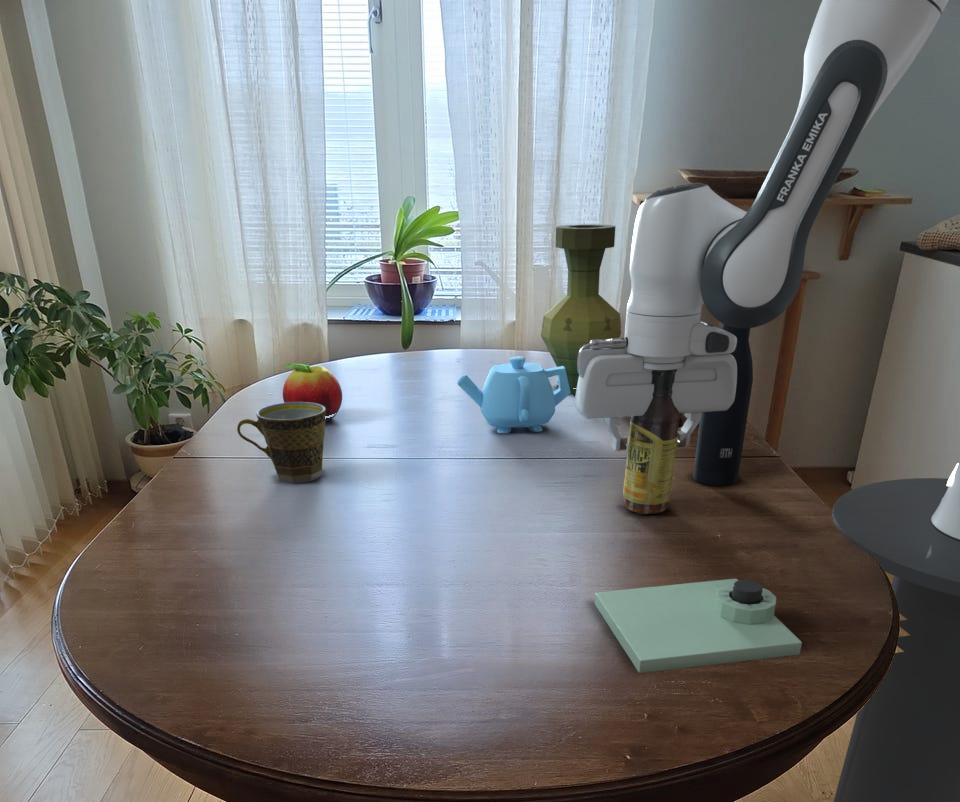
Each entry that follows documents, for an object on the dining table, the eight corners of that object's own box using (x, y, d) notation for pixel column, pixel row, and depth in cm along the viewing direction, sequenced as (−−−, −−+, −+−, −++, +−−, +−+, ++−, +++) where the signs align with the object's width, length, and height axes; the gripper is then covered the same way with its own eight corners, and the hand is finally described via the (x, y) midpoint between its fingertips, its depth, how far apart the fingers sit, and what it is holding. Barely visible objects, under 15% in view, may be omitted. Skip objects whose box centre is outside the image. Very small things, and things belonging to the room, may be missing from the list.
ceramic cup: (327, 462, 130) (319, 399, 125) (338, 482, 121) (330, 415, 116) (243, 472, 126) (232, 407, 121) (249, 493, 118) (237, 425, 113)
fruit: (322, 430, 145) (315, 372, 140) (273, 423, 149) (265, 367, 144) (355, 415, 154) (350, 360, 149) (308, 409, 158) (302, 356, 153)
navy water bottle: (711, 468, 124) (740, 251, 109) (746, 479, 119) (782, 254, 104) (683, 477, 121) (709, 254, 105) (718, 489, 116) (751, 258, 101)
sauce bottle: (614, 503, 112) (624, 353, 102) (654, 497, 114) (668, 349, 104) (637, 520, 107) (650, 364, 97) (679, 513, 109) (696, 359, 98)
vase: (583, 375, 178) (590, 222, 163) (634, 389, 167) (647, 226, 152) (523, 387, 170) (525, 226, 155) (573, 402, 159) (580, 231, 144)
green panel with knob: (737, 589, 89) (741, 564, 88) (803, 654, 77) (809, 627, 76) (594, 604, 87) (595, 578, 85) (639, 673, 75) (641, 645, 74)
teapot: (559, 411, 154) (561, 345, 148) (579, 436, 139) (582, 365, 133) (453, 416, 152) (451, 350, 146) (463, 442, 137) (461, 370, 131)
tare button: (752, 592, 83) (754, 578, 82) (765, 604, 81) (768, 590, 80) (726, 594, 83) (728, 580, 82) (738, 607, 80) (741, 593, 79)
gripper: (586, 345, 95) (579, 460, 102) (750, 337, 98) (733, 450, 105) (571, 335, 100) (566, 445, 107) (727, 328, 103) (712, 436, 110)
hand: (650, 447), depth 106 cm, fingers open, 7 cm apart
